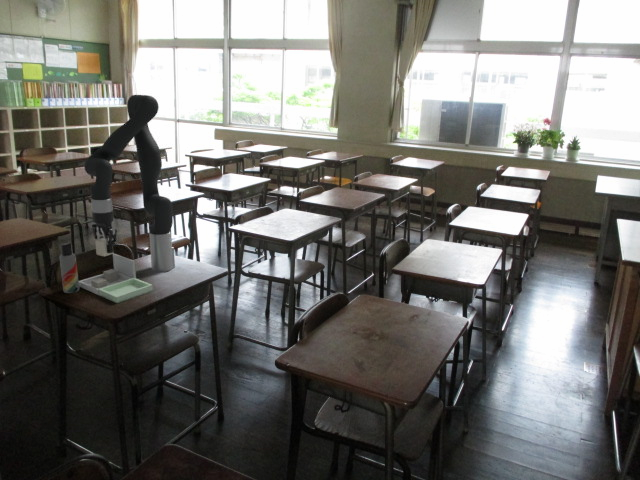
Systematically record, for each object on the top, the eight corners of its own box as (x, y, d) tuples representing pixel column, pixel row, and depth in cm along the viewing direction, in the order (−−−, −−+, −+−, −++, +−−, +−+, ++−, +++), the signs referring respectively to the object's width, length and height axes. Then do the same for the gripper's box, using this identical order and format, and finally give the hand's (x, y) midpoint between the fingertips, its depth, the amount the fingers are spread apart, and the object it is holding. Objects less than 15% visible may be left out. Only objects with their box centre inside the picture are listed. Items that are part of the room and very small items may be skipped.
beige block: (105, 251, 206) (104, 237, 204) (113, 253, 204) (112, 239, 202) (96, 254, 202) (95, 240, 200) (104, 256, 200) (103, 241, 198)
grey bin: (113, 276, 219) (113, 270, 218) (133, 284, 211) (133, 278, 211) (78, 287, 207) (77, 281, 206) (98, 296, 199) (97, 290, 198)
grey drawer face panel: (117, 275, 220) (115, 253, 217) (137, 283, 213) (135, 260, 210) (114, 276, 219) (112, 253, 216) (134, 284, 212) (132, 261, 209)
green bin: (134, 284, 211) (134, 277, 210) (153, 291, 205) (152, 284, 204) (99, 296, 199) (98, 289, 198) (117, 304, 192) (116, 297, 191)
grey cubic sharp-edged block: (112, 277, 216) (111, 268, 215) (118, 280, 214) (117, 271, 213) (104, 280, 213) (103, 271, 212) (110, 282, 211) (109, 273, 209)
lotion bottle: (75, 294, 200) (69, 245, 194) (60, 293, 200) (54, 245, 194) (82, 288, 205) (76, 241, 199) (68, 288, 205) (62, 240, 199)
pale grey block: (100, 287, 206) (100, 277, 205) (107, 289, 204) (106, 280, 203) (92, 290, 203) (91, 280, 202) (98, 292, 201) (97, 283, 200)
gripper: (121, 211, 197) (125, 253, 202) (101, 205, 205) (104, 245, 210) (103, 214, 191) (107, 257, 196) (83, 208, 199) (87, 249, 204)
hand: (106, 251), depth 203 cm, fingers closed on beige block, 4 cm apart
